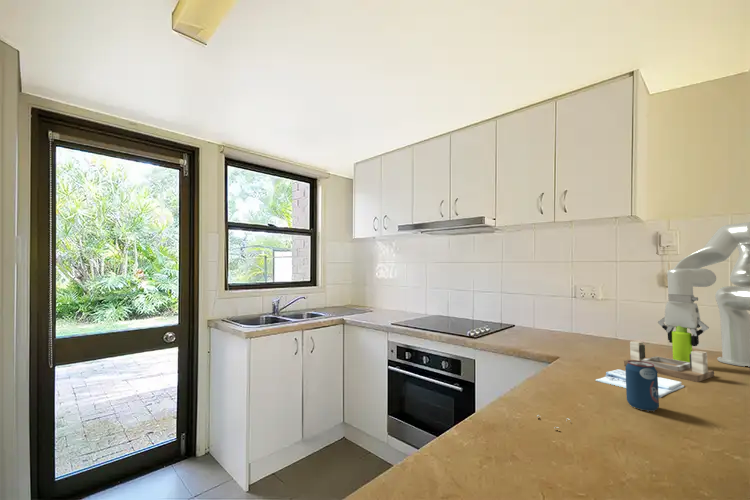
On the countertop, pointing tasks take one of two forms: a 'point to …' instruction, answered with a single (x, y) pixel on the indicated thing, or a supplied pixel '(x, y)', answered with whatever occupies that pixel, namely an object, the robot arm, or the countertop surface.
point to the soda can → (642, 385)
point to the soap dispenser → (681, 344)
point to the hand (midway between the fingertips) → (683, 343)
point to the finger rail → (674, 364)
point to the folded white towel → (619, 380)
